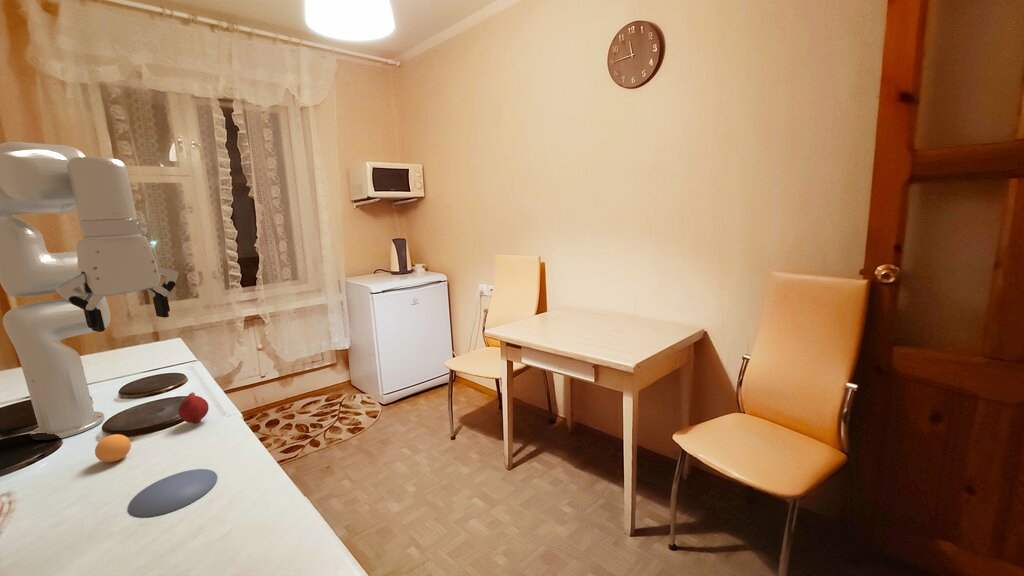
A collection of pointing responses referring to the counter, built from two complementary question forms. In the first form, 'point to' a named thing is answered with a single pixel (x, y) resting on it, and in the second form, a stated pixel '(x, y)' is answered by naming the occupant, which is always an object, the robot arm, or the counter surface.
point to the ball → (112, 448)
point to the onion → (193, 409)
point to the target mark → (172, 493)
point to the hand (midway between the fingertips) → (132, 323)
